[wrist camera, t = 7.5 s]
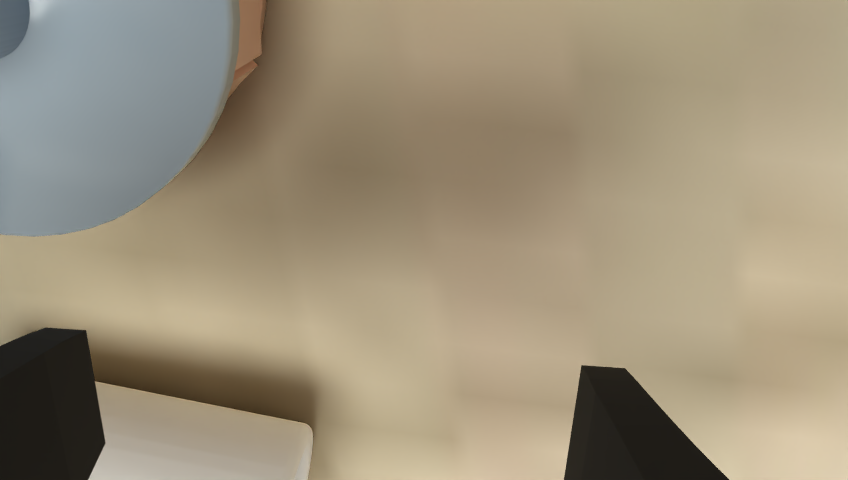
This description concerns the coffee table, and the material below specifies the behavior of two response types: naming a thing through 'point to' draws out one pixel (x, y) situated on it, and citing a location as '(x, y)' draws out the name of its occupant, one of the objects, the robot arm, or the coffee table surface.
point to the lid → (105, 103)
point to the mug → (195, 440)
